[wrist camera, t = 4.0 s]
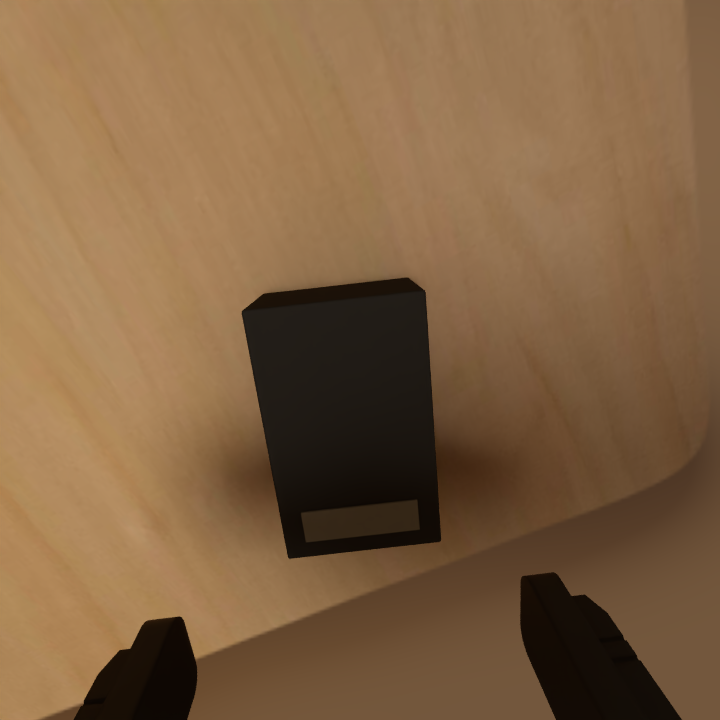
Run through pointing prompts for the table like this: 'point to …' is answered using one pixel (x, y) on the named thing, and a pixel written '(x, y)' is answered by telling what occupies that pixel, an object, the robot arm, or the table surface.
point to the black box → (347, 414)
